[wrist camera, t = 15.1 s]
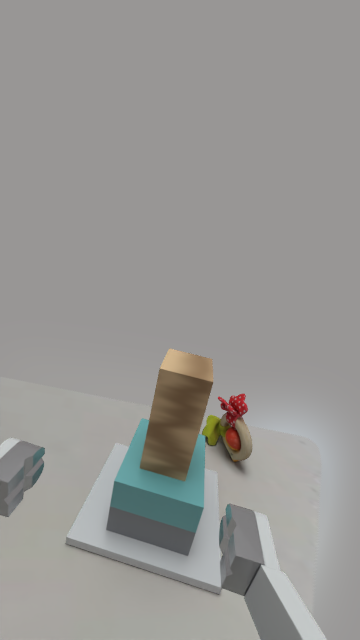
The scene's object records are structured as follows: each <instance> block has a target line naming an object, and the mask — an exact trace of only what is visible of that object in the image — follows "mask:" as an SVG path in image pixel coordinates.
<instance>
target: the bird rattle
mask: <svg viewBox="0 0 360 640" xmlns="http://www.w3.org/2000/svg"><path fill="white" fill-rule="evenodd" d="M245 397H246V396H245V394H240V395H238V396H236V397H235V396H231V397H230V400H229V404H228V403H227V402H226V401H225V400H223V399H222V398H221V397H218V399H219V400H220V401H221V402H222V403H221V408H222V409H223V410H226V411H228V412H227V413H225V414H224V415H223V416H222V418H221V419H219V418H218V417H216V416H213V415H210V416H208V418H207V425H206V426H205V428H204V429H203V432H202V435H204V436H207V437H208V444H209V445H215V444H216V442H217V440H218V438H219V436H220V435H222V439H223V442H224V444H225V446H226V448H227V450H228V452H229V453H230V455H231V458H232V460H233V461H234V462H237V461H242V460H245V459H247V458H248V457H249V456H250V455H251V452H252V439H251V435H250V432H249V430H248V428H247V426H246V424H245V422H244V420H243V418H242V415H244V414H245V413H246V412H247V411H248V408H247V405H246V404H245V403H244V400H245ZM231 425H232V427H231Z"/></svg>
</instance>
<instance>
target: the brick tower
mask: <svg viewBox="0 0 360 640" xmlns="http://www.w3.org/2000/svg"><path fill="white" fill-rule="evenodd" d="M148 424H149V420H146V419H143V418H142V419H141V421H140V424H139V426H138V428H137V430H136V433H135V435H134V437H133V439H132V442H131V444H130V446H125V445H122V444H118V443H116V444H115V446H114V448H113V450H112V452H111V453H110V455H109V457H108V459H107V461H106V463H105V465H104V467H103V469H102V471H101V472H100V474H99V476H98V478H97V480H96V482H95V484H94V486H93V488H92V489H91V491H90V493H89V495H88V497H87V499H86V501H85V503H84V505H83V507H82V508H81V510H80V512H79V514H78V516H77V518H76V520H75V522H74V524H73V525H72V527H71V529H70V531H69V533H68V535H67V537H66V544H69V545H72V546H75V547H78V548H81V549H84V550H87V551H90V552H93V553H96V554H99V555H102V556H105V557H108V558H111V559H114V560H117V561H120V562H123V563H126V564H129V565H132V566H135V567H138V568H141V569H144V570H147V571H150V572H153V573H156V574H159V575H162V576H165V577H168V578H171V579H174V580H177V581H180V582H183V583H186V584H189V585H193V586H196V587H199V588H202V589H205V590H208V591H211V592H214V593H217V594H220V592H221V590H222V588H221V576H220V561H221V549H220V547H219V529H220V524H219V501H218V478H217V472H216V471H212V470H209V469H205V436H204V435H201V434H198V438H197V441H196V445H195V448H194V452H193V456H192V459H191V463H190V466H189V470H188V473H187V477H186V480H185V481H181V480H178V479H175V478H171V477H168V476H164V475H161V474H157V473H154V472H150V471H147V470H144V469H140V463H141V458H142V453H143V448H144V443H145V439H146V434H147V429H148Z"/></svg>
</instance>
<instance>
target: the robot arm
mask: <svg viewBox="0 0 360 640" xmlns="http://www.w3.org/2000/svg"><path fill="white" fill-rule="evenodd" d="M44 454H45V448H43V447H40V446H37V445H34V444H31V443H28V442H25V441H22V440H19V439H15V438H12V437H11V438H9V439H7V440H5V441H4V442H3V443H2V444H1V445H0V515H2V516H5V517H9V516H10V514H11V513H12V512H13V511H14V509H15V508H16V507H17V506H18V504H19V503H20V502H21V501H22V499H23V495H24V492H25V491H26V490H28V489H30V488H32V487H33V485H34V484H35V483H36V481H37V480H38V478H39V476H40V475H41V473H42V470H43V467H44V461H43V459H42V456H43V455H44ZM219 547H220V549H221V552H222V554H223V556H222V558H221V561H220V576H221V588H223V589H226V590H229V591H231V592H234V593H237V594H239V595H242V596H245V597H244V599H245V602H246V604H247V607H248V609H249V611H250V614H251V616H252V619H253V621H254V624H255V626H256V629H257V631H258V634H259V636H260V639H261V640H327V639H326V637H325V636H324V634H323V633H322V631H321V629H320V628H319V626H318V625H317V623H316V621H315V620H314V618H313V617H312V615H311V613H310V612H309V610H308V609H307V607H306V605H305V604H304V602H303V601H302V599H301V597H300V596H299V594H298V593H297V591H296V589H295V588H294V586H293V585H292V583H291V581H290V580H289V578H288V577H287V575H286V574H285V572H283V571H281V570H280V566H279V562H278V558H277V554H276V550H275V546H274V541H273V537H272V533H271V529H270V525H269V521H268V518H267V516H266V515H265V514H262V513H258V512H255V511H252V510H250V509H246V508H243V507H239V506H236V505H232V504H228V505H227V507H226V515H225V516H223V517H222V520H221V523H220V529H219Z"/></svg>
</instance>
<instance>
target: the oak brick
mask: <svg viewBox="0 0 360 640" xmlns="http://www.w3.org/2000/svg"><path fill="white" fill-rule="evenodd" d="M212 385H213V366H212V359H210V358H206V357H201V356H198V355H194V354H190V353H185V352H181V351H177V350H173V349H169V350H168V352H167V355H166V356H165V359H164V361H163V363H162V365H161V367H160V370H159V375H158V380H157V385H156V390H155V395H154V400H153V404H152V409H151V414H150V419H149V424H148V429H147V434H146V439H145V443H144V448H143V453H142V458H141V463H140V469H144V470H147V471H150V472H154V473H157V474H161V475H164V476H168V477H171V478H175V479H178V480H181V481H185V480H186V477H187V473H188V470H189V466H190V463H191V459H192V456H193V452H194V448H195V445H196V441H197V438H198V434H199V431H200V427H201V424H202V420H203V417H204V413H205V410H206V406H207V402H208V399H209V395H210V392H211V388H212Z"/></svg>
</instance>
